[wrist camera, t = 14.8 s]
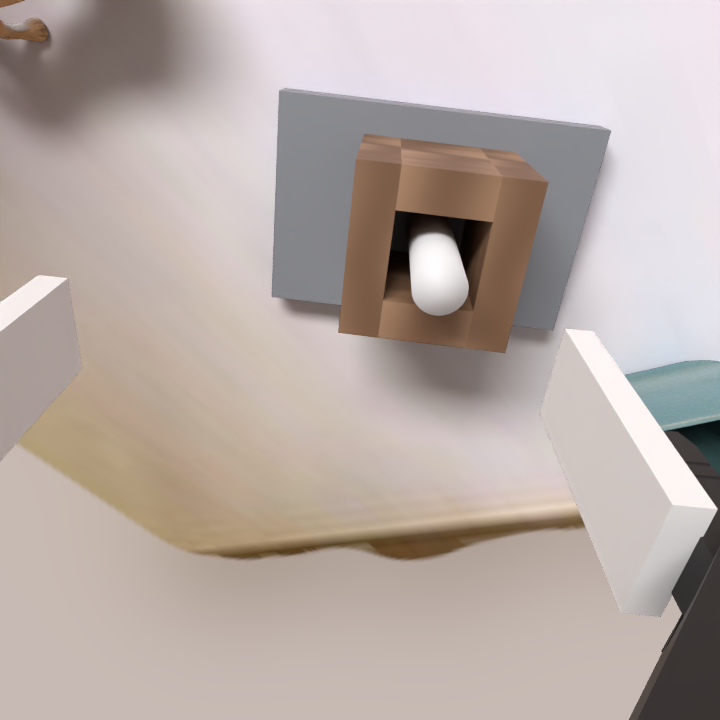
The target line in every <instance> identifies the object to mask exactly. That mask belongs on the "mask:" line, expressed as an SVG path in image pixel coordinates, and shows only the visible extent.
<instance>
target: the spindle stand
mask: <svg viewBox="0 0 720 720" xmlns="http://www.w3.org/2000/svg"><path fill="white" fill-rule="evenodd" d="M610 133H611V130H608V129H606V128H603V127H601V126H595V125H587V124H578V123H570V122H562V121H553V120H545V119H537V118H528V117H520V116H512V115H503V114H495V113H487V112H479V111H470V110H462V109H454V108H445V107H437V106H429V105H420V104H412V103H404V102H395V101H387V100H379V99H371V98H362V97H354V96H346V95H337V94H329V93H321V92H312V91H304V90H296V89H287V88H285V89H282V90H280V91H279V111H278V138H277V165H276V193H275V220H274V247H273V274H272V297H276V298H285V299H293V300H301V301H310V302H318V303H327V304H335V305H341V301H342V291H343V281H344V271H345V261H346V251H347V241H348V231H349V221H350V212H351V202H352V192H353V182H354V172H355V162H356V157H357V154H358V151H359V148H360V145H361V142H362V139H363V136H364V134H372V135H380V136H388V137H396V138H404V139H412V140H421V141H429V142H437V143H445V144H453V145H461V146H469V147H477V148H486V149H494V150H502V151H510V152H516V153H517V154H518V155H519V156H520V157H521V158H523V159H524V160H525V161H526V162H527V163H528V164H529V165H530V166H531V167H532V168H534V169H535V170H536V171H537V172H538V173H539V174H540V175H541V176H542V177H544V178H545V179H546V180H547V181H548V182H549V183H548V187H547V191H546V195H545V199H544V203H543V207H542V210H541V214H540V218H539V222H538V226H537V230H536V234H535V238H534V242H533V246H532V249H531V253H530V257H529V261H528V265H527V269H526V273H525V277H524V281H523V285H522V288H521V292H520V296H519V300H518V304H517V308H516V312H515V316H514V320H513V324H512V326H520V327H528V328H536V329H545V330H553V328H554V325H555V322H556V318H557V315H558V311H559V308H560V304H561V301H562V297H563V294H564V291H565V287H566V284H567V280H568V277H569V273H570V270H571V267H572V263H573V260H574V256H575V253H576V249H577V246H578V243H579V239H580V236H581V232H582V229H583V225H584V222H585V219H586V215H587V212H588V208H589V205H590V201H591V198H592V195H593V191H594V188H595V184H596V181H597V177H598V174H599V171H600V167H601V164H602V160H603V157H604V153H605V150H606V147H607V143H608V140H609V136H610ZM465 220H466V219H463V218H455V217H447V216H438V215H430V214H422V213H414V212H406V211H398V210H395V218H394V225H393V232H392V239H391V247H390V250H392V251H400V252H409V260H410V275H411V291H412V297H413V300H414V302H415V303H416V305H417V306H418V307H419V308H420V309H421V310H422V311H424V312H426V313H428V314H431V315H437V316H441V315H447V314H450V313H452V312H454V311H456V310H457V309H459V308H460V307H461V306H462V305H463V303H464V302H465V300H466V298H467V295H468V291H469V285H468V280H467V277H466V274H465V270H464V267H463V264H462V261H461V257H460V254H459V250H460V245H461V240H462V235H463V230H464V225H465Z"/></svg>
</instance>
